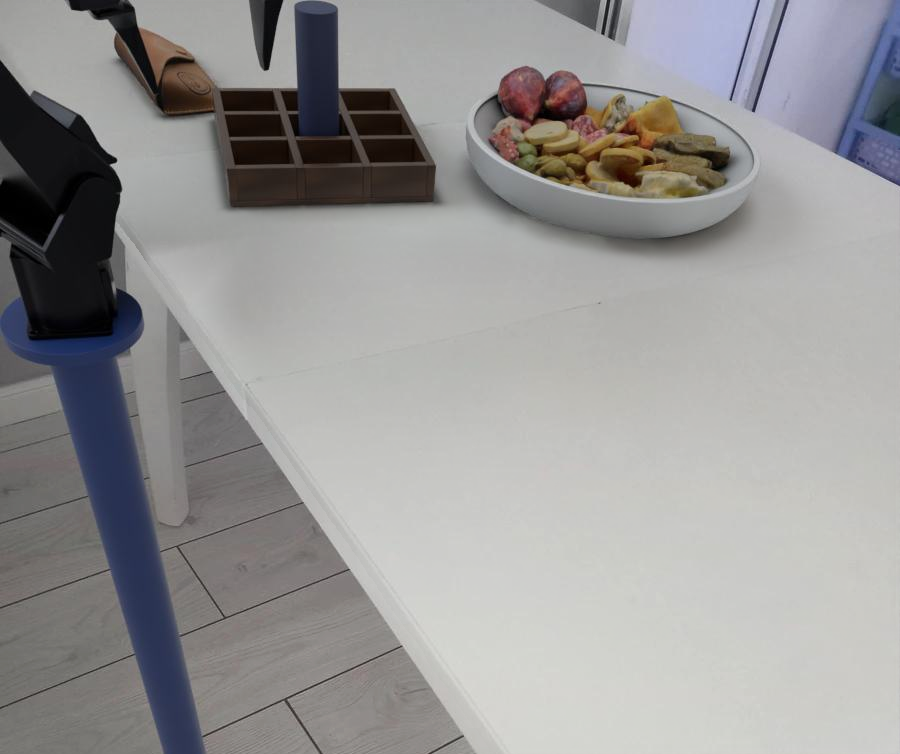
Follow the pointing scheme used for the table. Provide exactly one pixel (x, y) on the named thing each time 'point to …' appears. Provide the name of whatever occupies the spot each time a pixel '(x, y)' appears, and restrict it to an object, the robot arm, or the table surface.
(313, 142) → the grid
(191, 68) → the sunglasses case
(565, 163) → the bowl
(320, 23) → the navy round peg
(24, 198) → the robot arm
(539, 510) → the table surface
